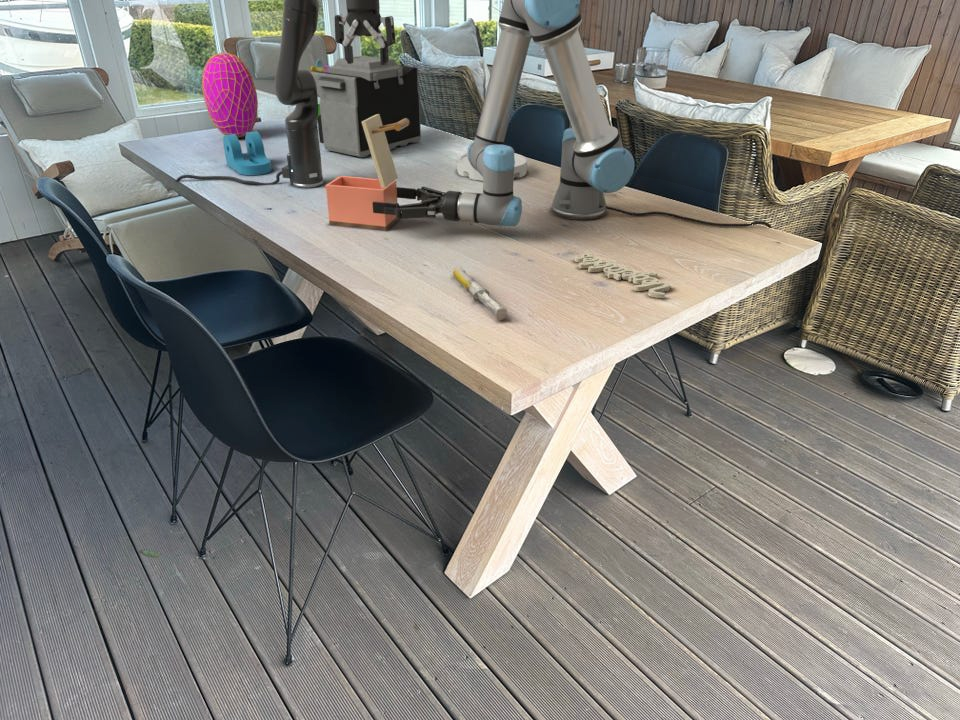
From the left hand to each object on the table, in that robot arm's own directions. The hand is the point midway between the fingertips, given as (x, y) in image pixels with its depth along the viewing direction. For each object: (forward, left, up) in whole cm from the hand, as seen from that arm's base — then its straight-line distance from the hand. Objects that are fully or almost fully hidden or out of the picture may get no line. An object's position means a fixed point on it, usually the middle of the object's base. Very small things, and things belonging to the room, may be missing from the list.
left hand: (366, 64), depth 164 cm
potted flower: (-69, +115, -40) cm, 140 cm away
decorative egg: (-89, +78, -40) cm, 125 cm away
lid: (+2, 0, -20) cm, 20 cm away
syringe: (+37, -37, -40) cm, 66 cm away
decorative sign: (+66, -18, -40) cm, 79 cm away
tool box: (-34, +80, -40) cm, 96 cm away
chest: (-4, 0, -40) cm, 40 cm away
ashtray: (+18, +58, -40) cm, 73 cm away
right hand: (+2, 0, -33) cm, 33 cm away
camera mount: (-60, +39, -40) cm, 82 cm away
